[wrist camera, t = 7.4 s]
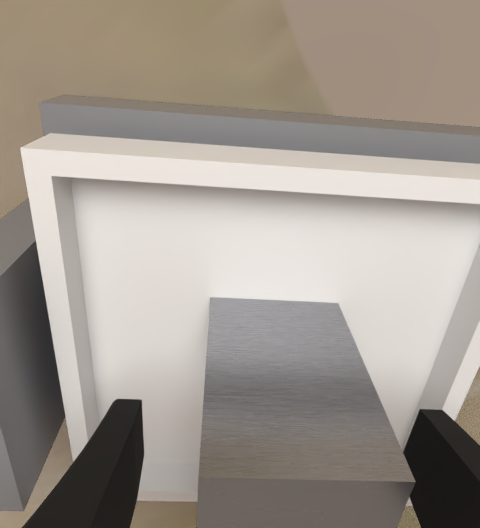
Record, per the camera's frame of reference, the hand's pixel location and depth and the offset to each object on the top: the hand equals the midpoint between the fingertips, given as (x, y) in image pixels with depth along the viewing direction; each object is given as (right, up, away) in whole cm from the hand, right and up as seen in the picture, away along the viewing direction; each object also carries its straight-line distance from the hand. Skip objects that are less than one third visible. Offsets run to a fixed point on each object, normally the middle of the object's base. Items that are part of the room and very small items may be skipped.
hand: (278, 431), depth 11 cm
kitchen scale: (-1, +3, +6) cm, 7 cm away
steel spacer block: (0, +1, +3) cm, 3 cm away
